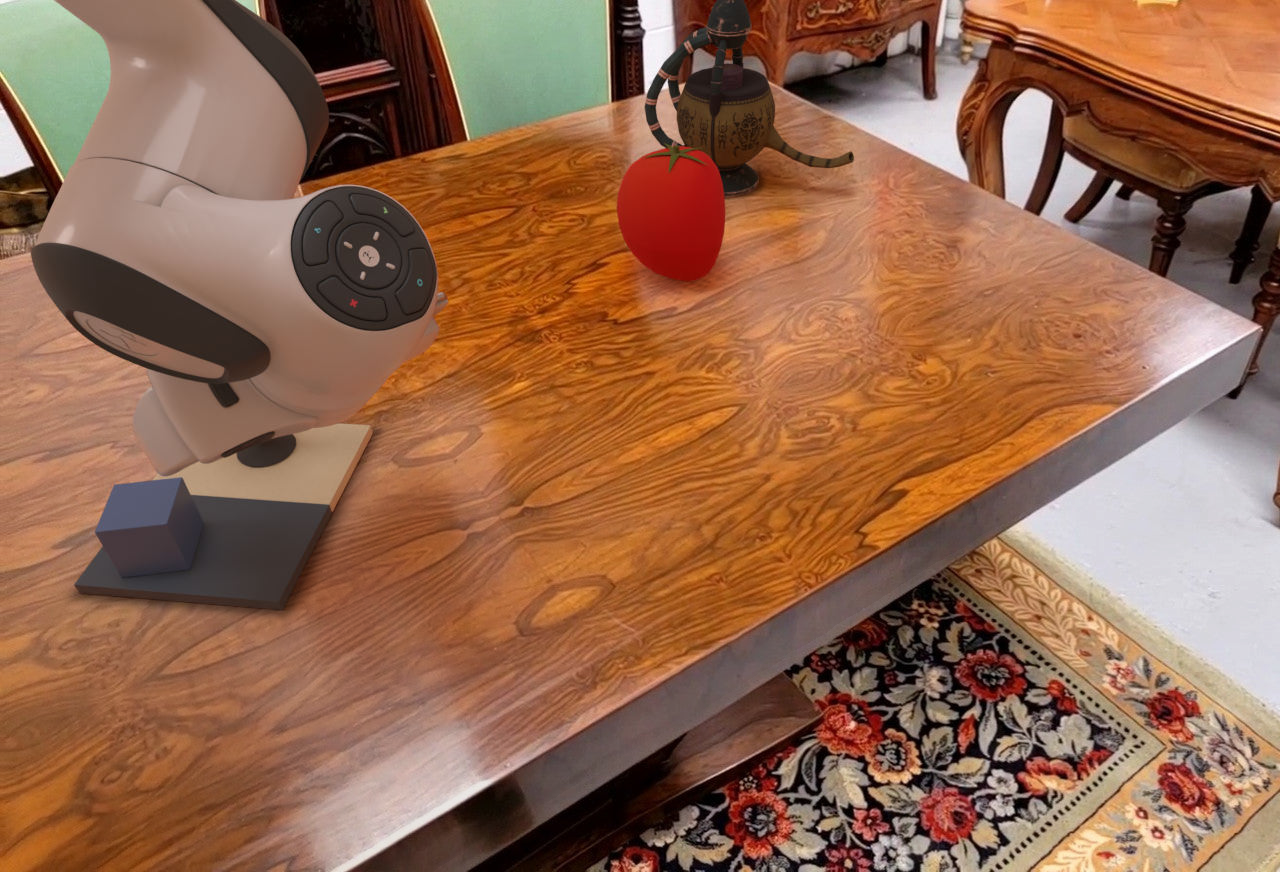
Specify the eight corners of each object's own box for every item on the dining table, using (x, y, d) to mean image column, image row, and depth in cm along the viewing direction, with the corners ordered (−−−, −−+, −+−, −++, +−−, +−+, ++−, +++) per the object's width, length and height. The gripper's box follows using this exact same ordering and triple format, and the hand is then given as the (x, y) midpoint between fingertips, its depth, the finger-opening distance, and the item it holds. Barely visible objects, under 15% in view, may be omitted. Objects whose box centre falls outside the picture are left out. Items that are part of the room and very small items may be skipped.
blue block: (121, 578, 70) (94, 532, 66) (138, 530, 73) (113, 484, 70) (190, 570, 70) (166, 523, 67) (204, 522, 74) (182, 476, 71)
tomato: (748, 275, 102) (756, 151, 93) (669, 313, 97) (669, 185, 88) (674, 233, 110) (674, 115, 101) (596, 266, 105) (589, 144, 95)
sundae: (246, 486, 77) (185, 336, 67) (214, 447, 81) (151, 299, 71) (320, 450, 80) (271, 302, 70) (285, 414, 84) (235, 268, 74)
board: (79, 593, 70) (73, 584, 69) (204, 422, 85) (200, 414, 84) (282, 610, 68) (278, 601, 68) (373, 433, 83) (370, 424, 83)
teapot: (671, 153, 127) (671, -33, 111) (856, 176, 120) (883, -18, 105) (642, 192, 118) (638, -4, 103) (840, 219, 112) (866, 14, 96)
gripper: (430, 246, 62) (382, 313, 74) (117, 376, 52) (120, 429, 63) (478, 330, 62) (423, 382, 74) (176, 475, 52) (168, 509, 64)
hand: (281, 405), depth 69 cm, fingers open, 8 cm apart
